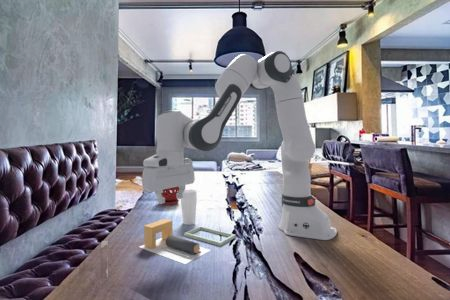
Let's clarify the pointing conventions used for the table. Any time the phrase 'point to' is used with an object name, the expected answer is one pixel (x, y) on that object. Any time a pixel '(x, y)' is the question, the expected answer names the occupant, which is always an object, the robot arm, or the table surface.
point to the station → (174, 252)
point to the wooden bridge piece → (157, 231)
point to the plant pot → (170, 196)
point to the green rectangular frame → (229, 235)
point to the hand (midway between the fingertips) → (171, 200)
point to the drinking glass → (189, 206)
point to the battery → (182, 244)
